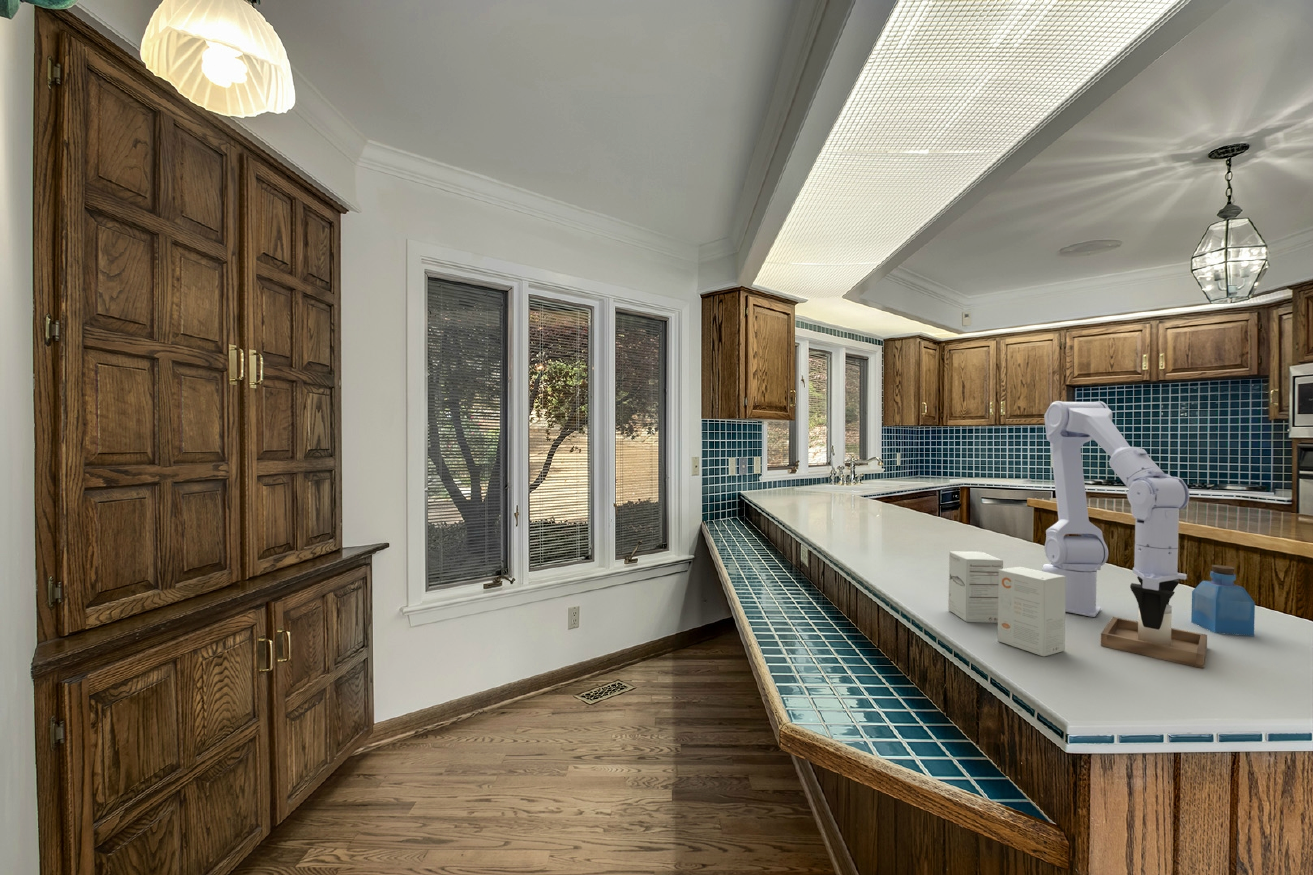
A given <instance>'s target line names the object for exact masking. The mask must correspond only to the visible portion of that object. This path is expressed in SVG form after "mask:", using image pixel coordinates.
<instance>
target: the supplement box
mask: <svg viewBox="0 0 1313 875" xmlns="http://www.w3.org/2000/svg"><path fill="white" fill-rule="evenodd" d="M948 562H949V563H948V564H949V566H948V600H947V601H948V606H947V608H948V611H949V612H951V613H953V614H954V615H956V616H957V617H959V618H960V619H961V620H963V621H964V622H967V623H989V624H990V623H994V624H998V582H999V569H1004V560H1003V559H1002V558H1001V559H1000V558H999V557H996V556H994V555H991V554H988V553H986V552H984V551H976V550H975V551H971V550H970V551H969V550H967V551H961V550H960V551H958V550H957V551H954V550H951V551H949V561H948Z"/></svg>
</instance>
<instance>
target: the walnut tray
mask: <svg viewBox="0 0 1313 875" xmlns="http://www.w3.org/2000/svg"><path fill="white" fill-rule="evenodd" d="M1100 646H1101V647H1105V648H1110V649H1113V650H1118V651H1123V652H1128V653H1131V654H1135V655H1141V656H1146V657H1149V658H1154V659H1159V660H1164V661H1168V662H1171V663H1172V662H1173V663H1176V664H1182V665H1185V666H1186V665H1187V666H1190V667H1196V668H1199V669H1204V665H1205V659H1206V654H1207V649H1208V634H1205V633H1204V634H1203V633H1199V632H1194V631H1189V630H1184V629H1179V628H1173V627H1171V647H1170V646H1165V645H1161V644H1156V643H1151V642H1146V641H1142V640H1138V620H1137V621H1136V620H1134V619H1133V620H1132V619H1127V618H1121V617H1118V616H1117V617H1115V616H1112V618H1111V619H1110V620H1109V622H1108V623H1107V624H1106V626H1105V627H1104V628H1103V630H1102V631H1101V633H1100Z"/></svg>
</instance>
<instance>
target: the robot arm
mask: <svg viewBox="0 0 1313 875" xmlns="http://www.w3.org/2000/svg"><path fill="white" fill-rule="evenodd" d="M1043 416H1044V425H1045V426H1044V427H1045V435H1046V440H1047V441H1048V442H1050V453H1051V461H1052V472H1053V473H1052V474H1053V480H1054V481H1053V482H1054V489H1055V499H1056V508H1057V510H1056V511H1057V517H1058V520H1057V521H1056V522H1055V523H1054V524H1052V525H1051V526H1050V527H1048V528H1047V529H1046V530H1045V534H1046V535H1045V536H1046V537H1045V543H1044V548H1043V549H1044V553H1045V554H1044V555H1045V557H1046V559H1047V560H1048V561H1049V563H1044V564H1043V566H1042V568H1041V571H1043V572H1048V573H1053V574H1057V575H1062V576H1065V613H1070V614H1077V615H1081V616H1087V617H1091V618H1094V617H1097V615H1098V613H1099V612H1100V611H1101V610H1102V606H1099V605H1098V606H1097V581H1098V579H1097V576H1098V571H1101V570H1102V566H1104V565H1106V563H1107V561H1108V558H1109V549H1108V546H1107V544H1106V542H1105V540H1104V536H1103V531H1102V530H1101V529H1100V528H1099V527H1098V526H1096V525H1095V524H1094V523H1092V522H1090V519H1089V511H1088V510H1089V509H1088V502H1087V500H1088V499H1087V492H1086V484H1085V477H1084V475H1085V474H1084V467H1083V460H1082V459H1083V458H1082V453H1081V452H1082V451H1081V450H1082V449H1081V448H1082V447H1083V446H1084V444H1085V443H1088V442H1090V441H1092V440H1093V441H1094V442H1095V443H1096V444H1097V445H1099V447H1101V448H1102V450H1104V451H1105V453H1107V454H1108V455H1109V457H1110V459H1109V462H1108V464H1109V467H1110V468H1111V469H1112V471H1113V472H1114V473H1115V474H1116V476H1118V478H1119V479H1120V480H1121V482H1123V484H1124V485H1125V486H1126V488H1128V491H1126V498H1127V500H1128V503H1129V504H1130V506H1131V515H1132V518H1134V519H1135V522H1134V523H1135V524H1134V560H1133V561H1134V562H1133V563H1134V567H1132V573H1133V574H1135V576H1136V577H1137V580H1138V582H1139V583H1133V582H1131V584H1130V586H1129V587H1130V591H1131V593H1132V594H1133V595H1134V598H1135V599H1136V603H1137V606H1138V605H1139V610H1140V615H1141V619H1142V623H1143V626H1144V627H1147V628H1152V629H1157V630H1159V629H1160V627H1161V624H1162V621H1163V617H1164V612H1165V609H1166V606H1167V604H1168V605H1170V604H1169V603H1170V600H1171V599H1172V597H1173V596H1174V595H1175V589H1176V587H1177V586H1179V584H1180V580H1187V579H1188V577H1187V576H1188V574H1186V573H1181V572H1178V568H1179V566H1178V564H1179V561H1178V560H1179V528H1180V527H1179V526H1180V519H1179V518H1180V510H1183V509H1185V507H1186V506H1187V505H1188V504H1189V501H1190V491H1189V488H1188V486H1187V484H1186V483H1185V481H1184V480H1183V479H1182V478H1180V477H1178V476H1171V475H1170V474H1169V473H1165V472H1164V471H1163V470H1162V469H1161V468H1160V467H1159V466H1158V465H1157V464H1156V463H1155V461H1154V460H1153V459H1152V458H1151V456H1149V455H1148V452H1147V451H1146V450H1145V449H1144V448H1141V447H1137V446H1131V445H1130V444H1129V442H1128V441H1127V440H1126V439H1125V437H1124V436H1123V434H1122V433H1121V432H1120V431H1119V429H1118V428H1117V427H1116V425H1115V423H1114V422H1113V411H1112V410H1111V409H1110V408H1109V406H1108V404H1106V403H1105V402H1104V401H1101V400H1100V401H1099V400H1098V401H1061V400H1056V401H1052V402H1051V403H1050V405H1049V406H1048V408H1047V409H1046V412H1045V413H1044V414H1043ZM1067 535H1068V536H1067ZM1070 535H1074V536H1070ZM1075 535H1077V536H1075ZM1078 535H1079V536H1078Z"/></svg>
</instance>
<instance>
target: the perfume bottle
mask: <svg viewBox="0 0 1313 875" xmlns="http://www.w3.org/2000/svg"><path fill="white" fill-rule="evenodd" d="M1211 569H1212V570H1211V571H1210V574H1209V575H1210V578H1211V579H1212V580H1202V581H1201V582H1200V583H1198V585H1197V586H1196V587H1194V589H1193V590H1191V617H1190V618H1191V622H1190V623H1192V624H1194V625H1195V626H1196V625H1197V626H1198V625H1199V626H1198V627H1201V628H1203V629H1206V630H1207V629H1208V630H1207V631H1209V630H1210V632H1211V631H1212V632H1211V633H1214V634H1220V633H1225V635H1235V634H1239V635H1238V636H1250V637H1251V636H1252V637H1253V636H1255V620H1256V619H1255V618H1256V617H1255V616H1256V615H1255V612H1256V610H1255V609H1256V602H1255V601H1254V600H1253V598H1252V597H1251V596H1250V594H1249V593H1248V592H1247V590H1246V589H1245V587H1243V586H1240V585H1237V584H1234V581H1236V578H1237V575H1236V573H1234V572H1235V569H1236V568H1235V567H1233V566H1229V565H1221V564H1211Z"/></svg>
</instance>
